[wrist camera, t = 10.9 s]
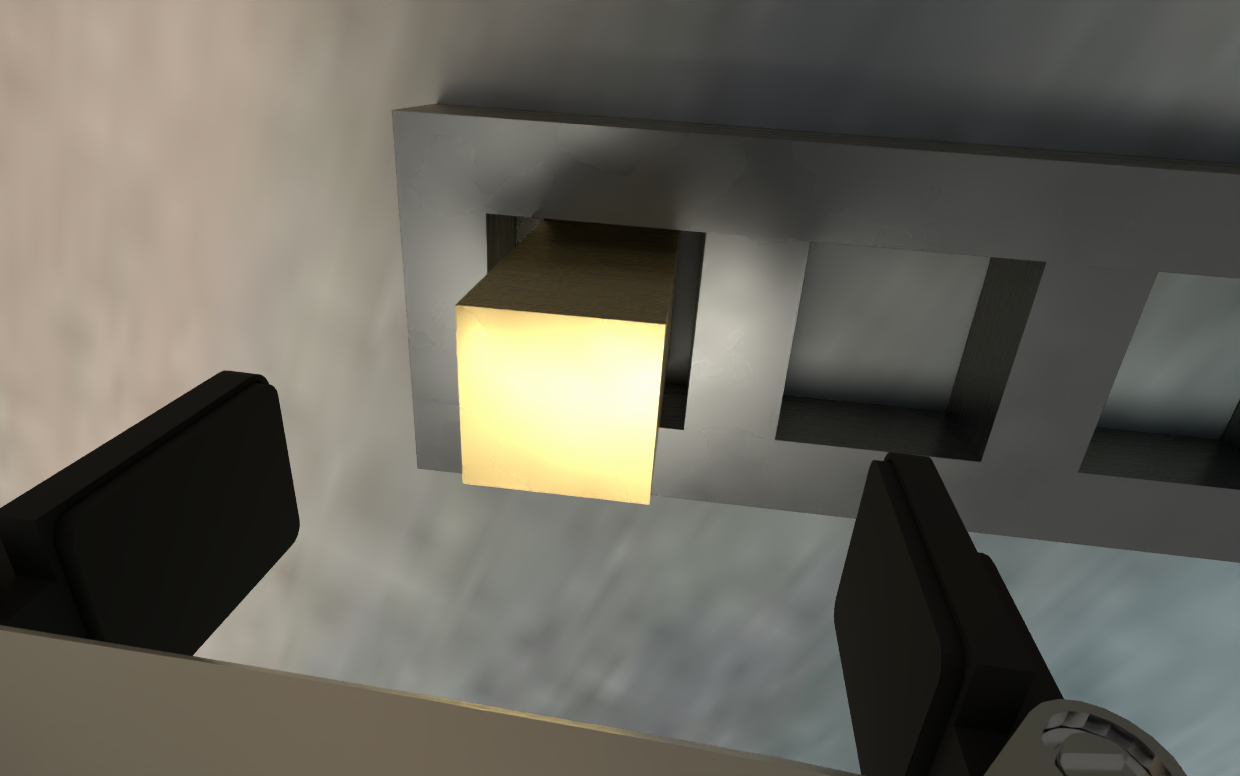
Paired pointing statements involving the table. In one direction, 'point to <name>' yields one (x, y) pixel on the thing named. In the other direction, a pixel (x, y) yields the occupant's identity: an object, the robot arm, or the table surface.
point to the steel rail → (770, 294)
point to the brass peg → (568, 361)
